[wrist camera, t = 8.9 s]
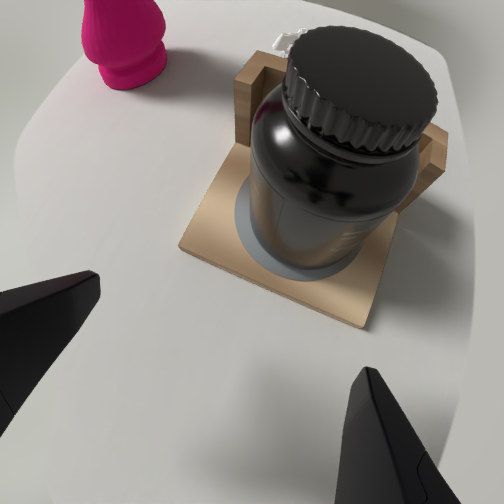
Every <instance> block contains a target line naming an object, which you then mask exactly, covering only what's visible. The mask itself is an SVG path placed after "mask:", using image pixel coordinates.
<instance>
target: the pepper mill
mask: <svg viewBox="0 0 504 504" xmlns="http://www.w3.org/2000/svg"><path fill="white" fill-rule="evenodd" d="M84 4H85V9H84V17H83V23H82V35H81V36H82V45H83V48H84V52H85V55H86V56H87V58H88V59H89V60H90V61H92V62H93V63H95V64H98V65H99V72H100V74H101V76H102V78H103V80H104V82H105V84H106V85H107V86H109V87H111V88H114V89H130V88H135V87H138V86H141V85H143V84H145V83H147V82H149V81H151V80H152V79H154V78H155V77H156V76H157V75H159V74H160V73H161V71H162V70H163V69H164V67H165V65H166V63H167V55H166V50H165V46H164V43H163V42H162V38H163V36H164V33H165V30H166V24H165V20H164V17H163V14H162V11H161V10H160V8H159V7H158V5H157V4H156V3H155V2H154V0H84Z"/></svg>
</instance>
